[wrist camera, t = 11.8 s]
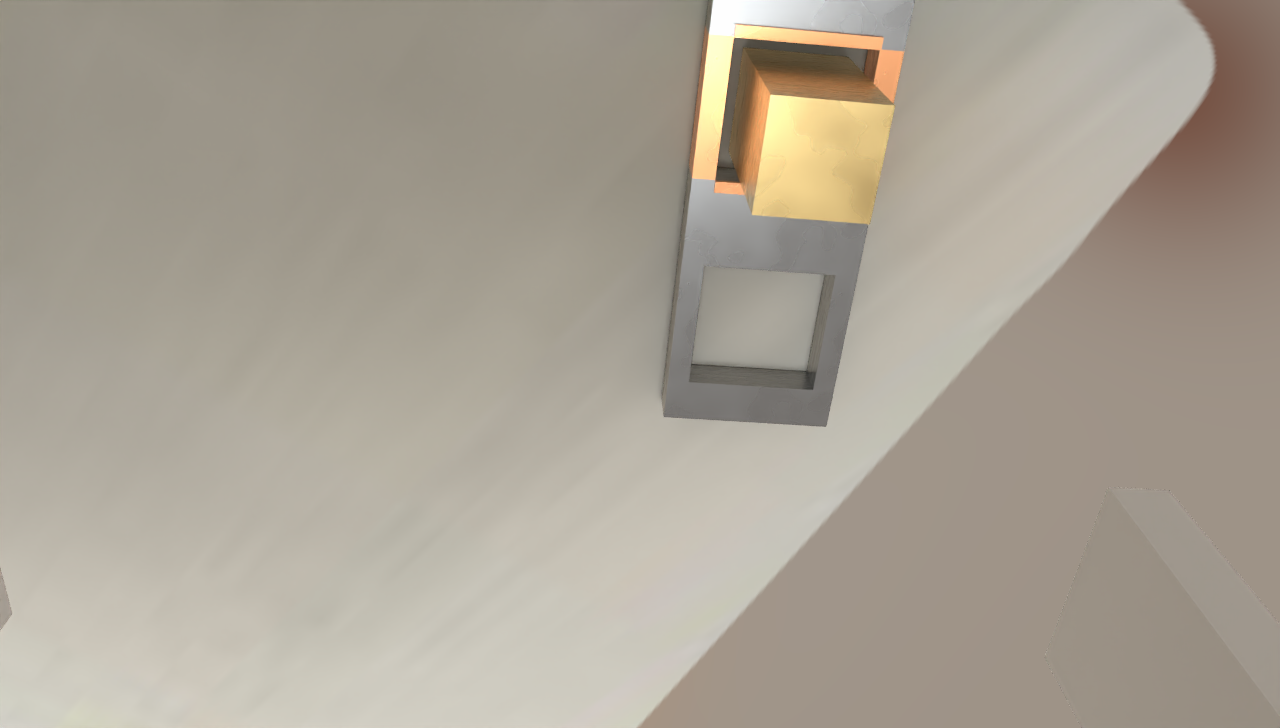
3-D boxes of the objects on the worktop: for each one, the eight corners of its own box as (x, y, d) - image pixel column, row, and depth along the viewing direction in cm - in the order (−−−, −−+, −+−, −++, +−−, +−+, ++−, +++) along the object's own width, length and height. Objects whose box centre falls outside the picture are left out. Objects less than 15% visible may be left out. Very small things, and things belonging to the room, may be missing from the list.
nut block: (728, 151, 46) (751, 214, 39) (743, 47, 43) (770, 94, 36) (828, 159, 46) (869, 224, 39) (847, 56, 44) (895, 105, 37)
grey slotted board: (661, 397, 51) (663, 419, 50) (711, -26, 42) (716, -18, 40) (819, 407, 52) (826, 428, 50) (903, -8, 43) (916, 1, 41)
